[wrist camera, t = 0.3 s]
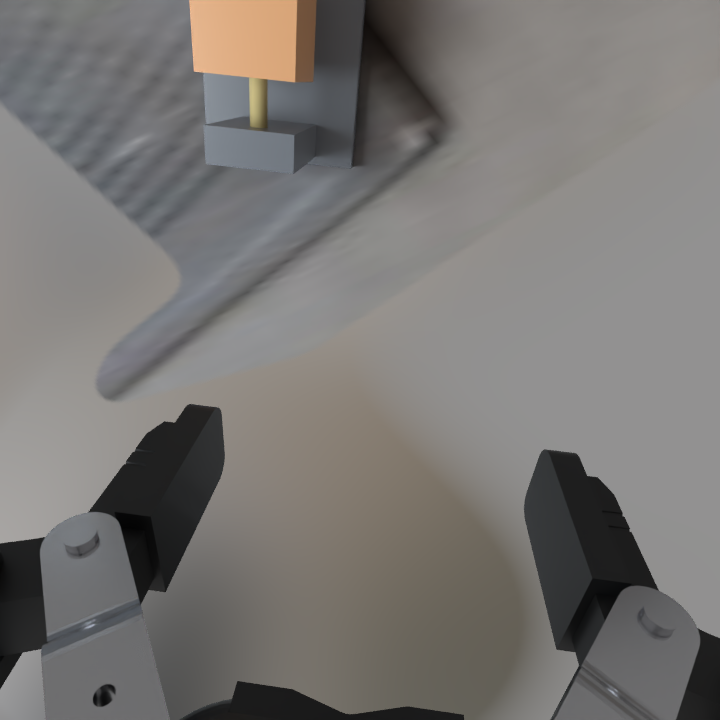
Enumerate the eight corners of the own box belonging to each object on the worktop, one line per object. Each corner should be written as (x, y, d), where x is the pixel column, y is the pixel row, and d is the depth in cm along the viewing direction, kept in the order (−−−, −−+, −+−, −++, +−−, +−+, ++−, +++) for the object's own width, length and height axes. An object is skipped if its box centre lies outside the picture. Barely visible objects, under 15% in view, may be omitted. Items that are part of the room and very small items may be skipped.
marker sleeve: (222, -56, 27) (184, -83, 22) (318, -47, 27) (298, -73, 22) (227, 72, 30) (194, 71, 25) (313, 81, 30) (295, 82, 25)
